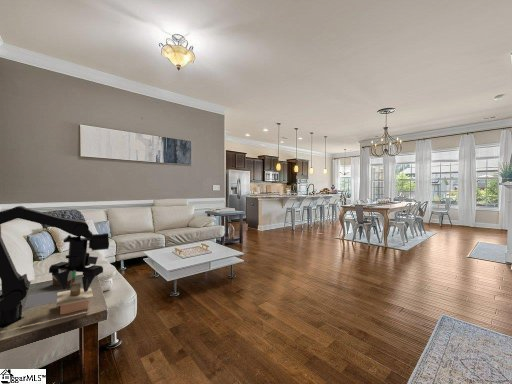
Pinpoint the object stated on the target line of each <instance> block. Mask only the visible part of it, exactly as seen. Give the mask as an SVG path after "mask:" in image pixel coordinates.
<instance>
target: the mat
mask: <svg viewBox="0 0 512 384" xmlns="http://www.w3.org/2000/svg"><path fill="white" fill-rule="evenodd" d="M62 291H68V288H67V287H66V289H64V290H63V289H62V288H61V289H55V290H50V291H44V292H38V293H32V294H27V296H26V300H25V303H24V306H23V309H29V308H33V307H39V306H44V305H47V304H48V305H49V304H53V303H57V292H62Z"/></svg>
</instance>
